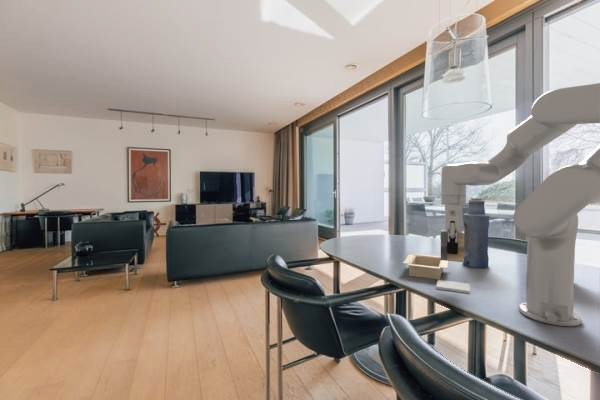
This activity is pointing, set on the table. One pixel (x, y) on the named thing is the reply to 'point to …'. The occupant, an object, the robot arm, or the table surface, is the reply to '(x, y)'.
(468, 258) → the bottle
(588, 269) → the table surface
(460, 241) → the block
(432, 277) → the carton
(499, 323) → the table surface
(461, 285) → the felt mat
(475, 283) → the table surface
